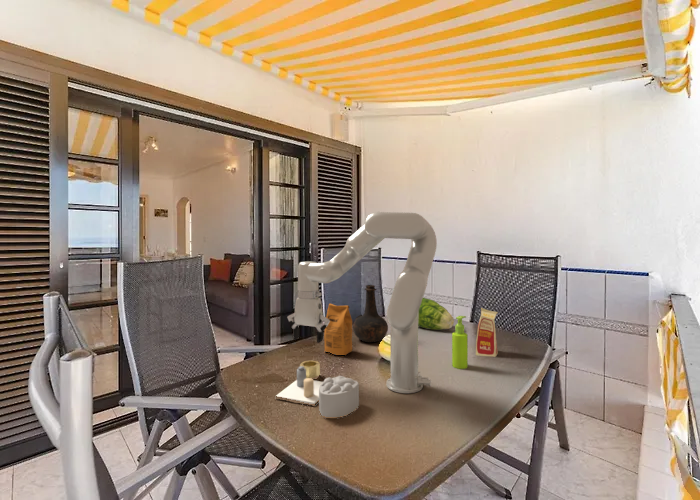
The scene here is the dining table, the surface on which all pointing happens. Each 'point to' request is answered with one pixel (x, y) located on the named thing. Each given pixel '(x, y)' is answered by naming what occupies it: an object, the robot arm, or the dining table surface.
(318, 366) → the brass collar
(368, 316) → the glass bottle
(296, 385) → the post board
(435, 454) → the dining table surface
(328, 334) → the coffee package
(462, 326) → the soap dispenser
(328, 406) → the lumpy-topped squat cylinder
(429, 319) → the lettuce
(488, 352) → the milk carton
